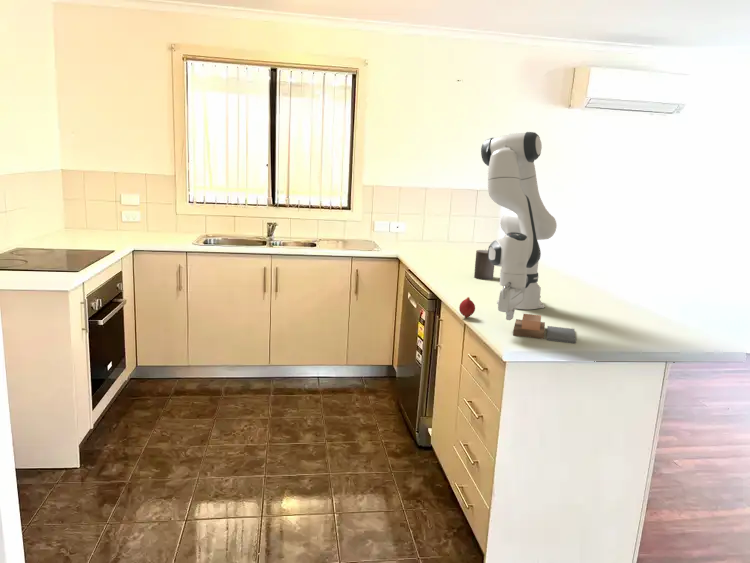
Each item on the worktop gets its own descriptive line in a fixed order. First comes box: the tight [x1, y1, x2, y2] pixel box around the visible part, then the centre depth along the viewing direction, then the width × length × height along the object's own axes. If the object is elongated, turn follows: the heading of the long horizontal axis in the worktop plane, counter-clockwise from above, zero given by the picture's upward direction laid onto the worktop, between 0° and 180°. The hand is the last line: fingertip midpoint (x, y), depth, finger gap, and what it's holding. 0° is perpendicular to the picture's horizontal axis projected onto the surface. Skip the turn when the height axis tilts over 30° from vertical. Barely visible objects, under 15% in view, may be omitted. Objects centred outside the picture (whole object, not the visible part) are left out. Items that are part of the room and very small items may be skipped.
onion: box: [458, 296, 476, 319], centre depth 209 cm, size 6×6×8 cm
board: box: [512, 318, 546, 340], centre depth 195 cm, size 14×10×2 cm
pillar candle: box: [473, 249, 495, 281], centre depth 285 cm, size 10×10×15 cm
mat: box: [546, 325, 577, 344], centre depth 191 cm, size 15×9×1 cm, turn 163°
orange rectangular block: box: [521, 313, 542, 331], centre depth 194 cm, size 9×6×3 cm, turn 163°
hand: (509, 319), depth 196 cm, fingers closed
